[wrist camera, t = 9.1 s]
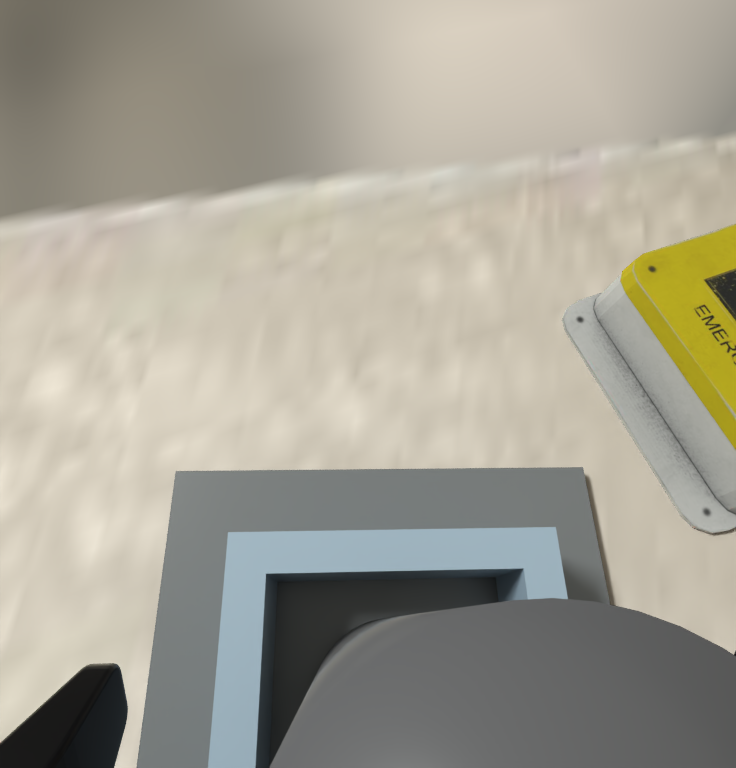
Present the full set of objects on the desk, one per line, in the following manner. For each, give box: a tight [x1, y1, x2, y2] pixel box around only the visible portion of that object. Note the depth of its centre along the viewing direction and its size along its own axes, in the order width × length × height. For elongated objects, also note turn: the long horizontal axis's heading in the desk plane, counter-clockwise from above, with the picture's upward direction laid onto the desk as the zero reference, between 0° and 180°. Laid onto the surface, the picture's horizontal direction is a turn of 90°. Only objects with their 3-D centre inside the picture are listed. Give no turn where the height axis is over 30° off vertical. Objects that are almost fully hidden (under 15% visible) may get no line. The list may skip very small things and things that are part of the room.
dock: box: [137, 467, 610, 768], centre depth 13 cm, size 13×13×3 cm
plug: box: [269, 598, 736, 768], centre depth 8 cm, size 4×4×12 cm
